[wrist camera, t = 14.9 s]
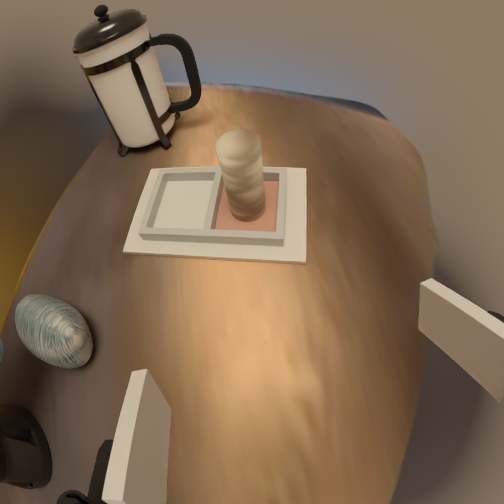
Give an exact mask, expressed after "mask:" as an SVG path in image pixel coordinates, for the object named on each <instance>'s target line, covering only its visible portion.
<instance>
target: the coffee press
mask: <svg viewBox="0 0 504 504" xmlns="http://www.w3.org/2000/svg"><path fill="white" fill-rule="evenodd" d="M107 11H108V7H107V6H105V5H100V6H98V7H97V8H96V9H95V11H94V14H95V15H96V16H97V17H100V18H98V19H97V20H95V21H93V22H92V23H90V24H89V25H87V26H85V27H84V28H83V29H82V30H81V31H80V32H79V33H78V34H77V35H76V37H75V39H74V47H73V48H72V50H73V53H74V56H75V58H79V60H80V62H81V67H82V70H83V72H84V74H85V75H86V78H87V80H88V82H89V84H90V86H91V88H92V91H93V93H94V94H95V97H96V99H97V101H98V103H99V105H100V107H101V108H102V110H103V112H104V114H105V116H106V118H107V120H108V122H109V124H110V126H111V128H112V130H113V132H114V134H115V136H116V138H117V140H118V142H119V147H118V153H119V154H120V155H121V156H125V155H126V154H127V152H128V149H129V147H143V146H147V145H150V144H152V143H154V142H156V141H158V142H159V143H160V144H161V146H162V147H163V148H164V149H165V150H166V149H167V148H168V147H170V146H171V143H170V141H169V140H168V138H167V137H166V134H167V133H168V132H169V131H170V129H171V128H172V126H173V124H174V121H175V119H178V118H179V117H180V113H179V112H180V111H184V110H188V109H190V108H192V107H194V106H195V105H196V104H197V103H198V102H199V100H200V97H201V83H200V78H199V74H198V69H197V65H196V61H195V57H194V54H193V51H192V49H191V47H190V45H189V43H188V42H187V41H186V40H185V39H183V38H182V37H180V36H178V35H175V34H161V35H159V36H156V37H152V38H151V35H150V33H148V29H147V26H146V22H147V18H146V15H142V13H141V12H140V11H138V10H136V9H123V10H119V11H116V12H113V13H110V14H106V13H107ZM105 14H106V15H105ZM159 44H160V45H164V44H168V45H172V46H174V47H176V48H177V49H178V50H179V51H180V53H181V55H182V58H183V61H184V65H185V69H186V72H187V77H188V80H189V84H190V88H191V96H190V98H189V99H187V100H185V101H181V102H176V103H172V101H171V98H170V97H169V96H168V93H167V90H166V86H165V83H164V81H163V77H162V74H161V71H160V68H159V65H158V62H157V59H156V55H155V52H154V49H153V46H155V45H159ZM175 112H176V115H174V113H175ZM122 144H124V145H125V149H124V151H123V152H122V153H121V150H122Z"/></svg>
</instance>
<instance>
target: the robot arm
mask: <svg viewBox="0 0 504 504" xmlns="http://www.w3.org/2000/svg"><path fill="white" fill-rule="evenodd" d="M418 329H419V330H420V331H421V332H422V333H424V334H425V335H426V336H427V337H428V338H429V339H430V340H432V341H433V342H434V343H435V344H436V345H437V346H439V347H440V348H441V349H442V350H443V351H444V352H445V353H447V354H448V355H449V356H450V357H451V358H452V359H454V361H456V362H457V363H458V364H459V365H460V366H461V367H462V368H463V369H464V370H465V371H467V372H468V373H469V374H470V375H471V376H472V377H473V378H474V379H475V380H476V381H478V383H480V384H481V385H482V386H483V387H484V388H485V389H486V390H487V391H488V392H489V393H490V394H491V395H492V396H493V397H494V398H496V399H497V400H498V401H499V402H501V401H502V400H504V317H503V316H502V315H500V314H498V313H495V312H491V311H488V312H486V311H484V310H483V309H481V308H480V307H478V306H476V305H475V304H473V303H472V302H470V301H468V300H467V299H465V298H463V297H462V296H460V295H459V294H457V293H455V292H454V291H452V290H450V289H449V288H447V287H445V286H444V285H442V284H440V283H438V282H437V281H435V280H433V279H432V278H431V279H428V280H426V281H424V282H422V283H420V308H419V326H418ZM3 353H4V345H3V342H2V339H1V337H0V365H1V361H2V357H3ZM171 410H172V409H171V408H170V406H169V405H168V403H167V401H166V400H165V398H164V397H163V395H162V393H161V392H160V390H159V388H158V387H157V385H156V383H155V381H154V380H153V378H152V376H151V374H150V373H149V371H148V369H143V370H138V371H132V374H131V378H130V381H129V385H128V388H127V392H126V395H125V399H124V402H123V406H122V410H121V414H120V417H119V421H118V425H117V429H116V433H115V437H114V440H105V441H104V443H103V444H102V445H101V447H100V448H99V450H98V454H97V458H96V462H95V466H94V470H93V474H92V478H91V483H90V487H89V492H88V497H86V496H85V495H83V494H82V493H81V492H78V491H76V490H69V491H67V492H64V493H63V494H62V495H61V496H60V497H59V499H58V500H57V504H166V491H167V467H168V450H169V435H170V422H171ZM51 472H52V461H51V454H50V450H49V446H48V443H47V441H46V438H45V436H44V433H43V431H42V429H41V428H40V426H39V424H38V423H37V421H36V420H35V418H34V417H33V416H32V415H31V414H30V413H29V412H28V411H27V410H26V409H25V408H23V407H21V406H19V405H16V404H8V403H4V404H0V483H6V484H10V485H13V486H17V487H21V488H26V489H35V488H40V487H43V486H45V485H46V484H47V483H48V482H49V480H50V477H51Z"/></svg>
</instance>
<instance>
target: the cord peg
mask: <svg viewBox="0 0 504 504" xmlns="http://www.w3.org/2000/svg"><path fill="white" fill-rule="evenodd" d="M216 151H217V155H218V160H219V164H220V168H221V172H222V177H223V181H224V185H225V189H226V194H227V198H228V202H229V206H230V210H231V213H232V215H233V216H234V217H235V218H236V219H237V220H240V221H243V222H251V221H254V220H257V219H258V218H260V217H261V216H262V215H263V214H264V212H265V209H266V203H265V189H264V175H263V162H262V149H261V140H260V137H259V136H258V135H257V134H256V133H254V132H252V131H249V130H242V129H241V130H233V131H230V132H227V133H225V134H223V135H222V136H221V137H220V138H219V139H218V140H217V142H216Z"/></svg>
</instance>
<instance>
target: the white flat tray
mask: <svg viewBox="0 0 504 504" xmlns="http://www.w3.org/2000/svg"><path fill="white" fill-rule="evenodd" d="M263 175H264V189H265V203H266V209H265V212H264V214H263V215H262V216H261V217H260V218H258V219H257V220H254V221H251V222H243V221H240V220H237V219H236V218H235V217H234V216H233V215H232V213H231V210H230V206H229V202H228V198H227V194H226V189H225V185H224V181H223V177H222V172H221V168H220V167H181V168H159V169H151V171H150V174H149V176H148V179H147V182H146V184H145V187H144V190H143V192H142V195H141V198H140V200H139V203H138V206H137V209H136V212H135V215H134V218H133V221H132V224H131V227H130V230H129V233H128V236H127V239H126V242H125V246H124V249H123V252H124V253H125V254H133V255H149V256H165V257H181V258H197V259H214V260H232V261H250V262H268V263H287V264H306V168H286V167H263Z"/></svg>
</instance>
